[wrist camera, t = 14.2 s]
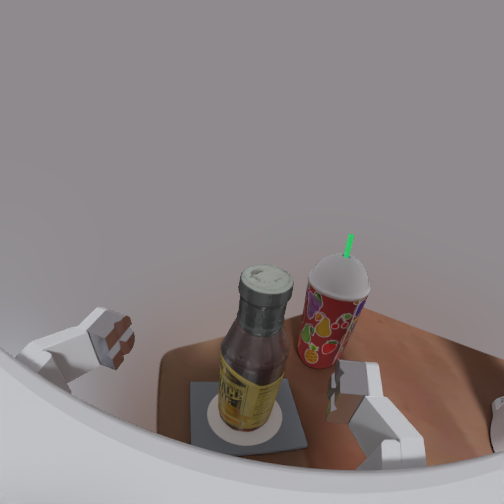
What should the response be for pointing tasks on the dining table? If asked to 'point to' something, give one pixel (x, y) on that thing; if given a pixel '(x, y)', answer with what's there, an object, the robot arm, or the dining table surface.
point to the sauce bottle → (255, 349)
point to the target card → (238, 442)
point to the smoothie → (332, 307)
